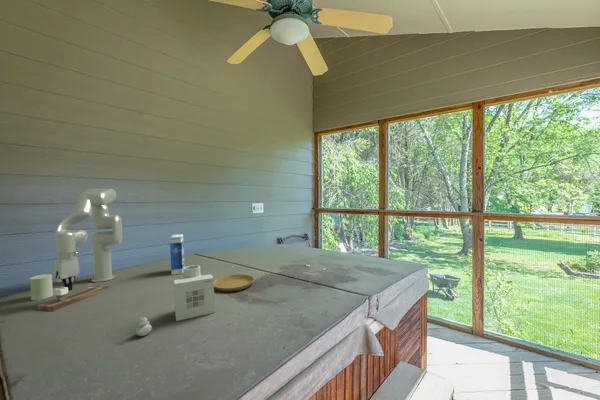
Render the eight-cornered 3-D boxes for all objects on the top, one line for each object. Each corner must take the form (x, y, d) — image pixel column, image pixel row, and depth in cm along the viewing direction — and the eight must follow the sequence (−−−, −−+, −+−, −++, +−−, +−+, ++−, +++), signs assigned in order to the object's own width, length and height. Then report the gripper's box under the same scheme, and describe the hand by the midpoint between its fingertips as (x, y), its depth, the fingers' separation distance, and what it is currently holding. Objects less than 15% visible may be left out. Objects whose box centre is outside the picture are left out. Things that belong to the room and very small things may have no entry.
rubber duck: (132, 338, 106) (131, 318, 105) (141, 330, 112) (141, 310, 112) (146, 338, 106) (145, 317, 106) (155, 329, 112) (154, 310, 112)
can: (56, 295, 156) (55, 274, 155) (35, 301, 147) (34, 279, 147) (48, 293, 159) (47, 272, 159) (27, 299, 151) (25, 277, 151)
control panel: (176, 321, 119) (174, 275, 119) (173, 306, 136) (171, 265, 135) (214, 312, 127) (213, 269, 126) (208, 299, 143) (206, 261, 143)
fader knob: (53, 300, 141) (52, 288, 141) (61, 298, 145) (60, 286, 144) (61, 301, 140) (60, 289, 140) (68, 298, 143) (68, 286, 143)
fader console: (37, 309, 136) (37, 305, 136) (94, 288, 165) (94, 285, 165) (53, 311, 134) (53, 306, 134) (108, 289, 163) (108, 285, 163)
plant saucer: (223, 297, 147) (223, 290, 146) (205, 286, 165) (205, 280, 165) (262, 285, 162) (261, 280, 162) (241, 277, 181) (241, 272, 180)
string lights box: (182, 273, 191) (181, 236, 190) (170, 275, 189) (169, 237, 188) (184, 268, 204) (183, 233, 203) (173, 269, 202) (172, 234, 201)
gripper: (75, 252, 153) (76, 285, 154) (45, 258, 139) (47, 295, 139) (86, 252, 152) (87, 285, 152) (57, 259, 137) (59, 295, 138)
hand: (68, 290), depth 146 cm, fingers closed
